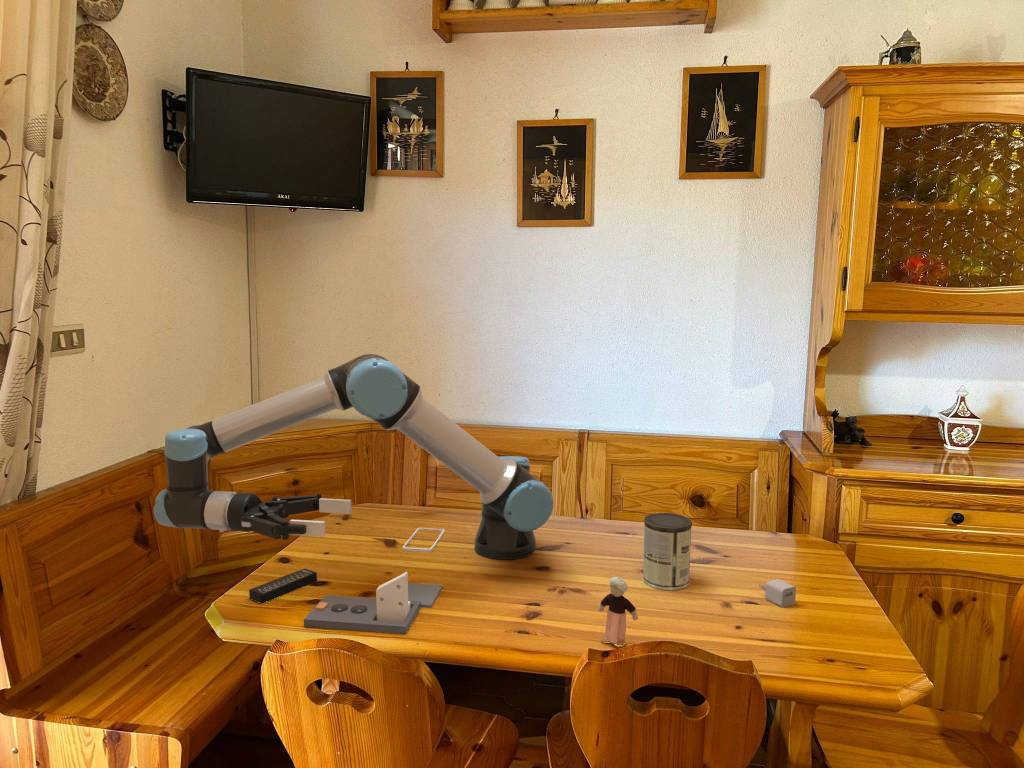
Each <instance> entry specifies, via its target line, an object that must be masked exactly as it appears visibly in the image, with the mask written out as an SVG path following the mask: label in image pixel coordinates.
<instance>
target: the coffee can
mask: <svg viewBox="0 0 1024 768" xmlns="http://www.w3.org/2000/svg"><path fill="white" fill-rule="evenodd" d="M643 522H644V523H643V524H644V526H643V527H644V530H643V532H644V533H643V534H644V535H643V570H642V571H643V573H642V581H643V583H644V584H645V585H647V586H649V587H650V588H653V587H654V589H657V590H661V589H662V590H663V591H679V589H680V590H683V588H684V589H685V588H687V587H688V586H689V585H690V572H691V571H690V570H691V569H690V567H691V566H690V565H691V545H692V541H691V539H692V526H693V521H692V519H690V517H687V516H684V515H682V514H678V513H672V512H655V513H651V514H648V515H646V516H645V517H644V519H643Z"/></svg>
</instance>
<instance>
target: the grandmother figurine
mask: <svg viewBox="0 0 1024 768" xmlns="http://www.w3.org/2000/svg"><path fill="white" fill-rule="evenodd" d="M609 586H610V589H609V590H610V593H608V594H606V596H605V597H603V599H602V600H600V604H599V606H598V608H597V611H598V612H600V613H603V612H604V609H605V608H606V607H608V608H607V611H606V622H605V634H604V635H605V636H603V637H602V638H601V639H600V642H601V641H603V642H611V643H610V644H613V645H614V644H617V645H622V646H619V647H622V648H624V647H625V646H626V643H625V642H626V640H625V639H626V632H627V613H626V611H627V612H628V613H629V614H630V615H631V617H632V618H631V619H632V620H633V621H637V620H638V619H639V616H638V614H637V611H636V610H637V608H636V606H635V605H634V604H633V603H632V602H631V601H630V600H629V599H628V598H627V597H625V596H624V594H625V592H627V591H628V589H630V588H629V586H628V584H627V582H626V581H625V580H624V579H623V578H622V577H621V576H613V577H611V578H610V580H609ZM624 643H625V645H624ZM623 646H624V647H623ZM619 647H618V648H619Z"/></svg>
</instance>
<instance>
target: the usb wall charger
mask: <svg viewBox="0 0 1024 768" xmlns="http://www.w3.org/2000/svg"><path fill="white" fill-rule="evenodd" d="M759 588H761V589H762V590H764V591H765V593H764V595H765V596H764V598H765V600H767V601H769V602H771V603H773V604H775V605H777V606H779V607H781V608H787V607H790V606H794V605H795V603H796V595H797V588H796V586H794V585H792V584H790V583H788V582H786V581H783V580H781V579H779V578H776V579H772V580H768V581H767V582H766V584H765V585H763V584H761V583H759ZM786 606H787V607H786Z"/></svg>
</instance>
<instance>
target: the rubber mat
mask: <svg viewBox="0 0 1024 768" xmlns="http://www.w3.org/2000/svg"><path fill="white" fill-rule="evenodd" d="M443 587H444V586H443V584H437V583H435V584H434V583H432V584H431V583H422V582H421V583H418V582H408V600H409V601H421V608H424V609H425V608H428V609H432V608H433V606H434V603H435V602H436V600H437V598H438V596H439V595H440V593H441V591H442V589H443Z"/></svg>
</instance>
